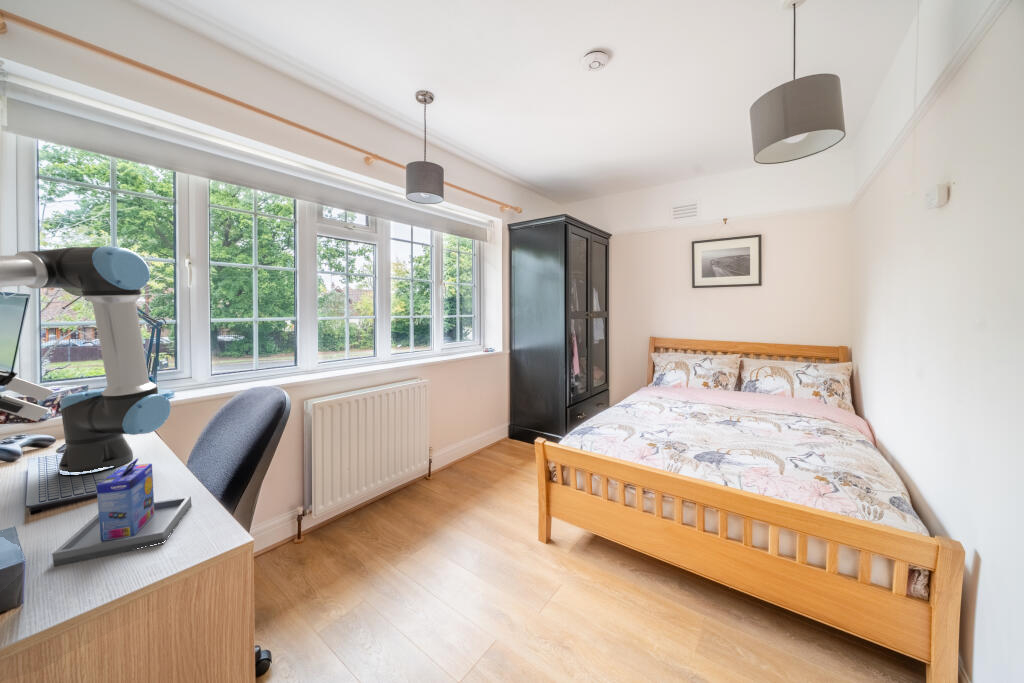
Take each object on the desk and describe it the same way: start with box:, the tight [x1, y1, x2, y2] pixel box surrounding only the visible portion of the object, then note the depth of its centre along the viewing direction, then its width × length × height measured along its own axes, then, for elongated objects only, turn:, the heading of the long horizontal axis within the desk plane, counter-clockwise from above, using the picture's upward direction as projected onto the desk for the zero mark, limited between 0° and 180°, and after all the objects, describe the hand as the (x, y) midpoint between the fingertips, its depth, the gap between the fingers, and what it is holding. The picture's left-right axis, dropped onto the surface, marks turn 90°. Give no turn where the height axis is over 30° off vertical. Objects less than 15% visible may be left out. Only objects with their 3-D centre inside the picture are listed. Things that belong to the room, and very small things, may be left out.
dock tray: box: [51, 495, 192, 567], centre depth 81 cm, size 16×16×2 cm
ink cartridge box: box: [96, 457, 155, 542], centre depth 80 cm, size 10×6×14 cm, turn 24°
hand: (46, 405), depth 82 cm, fingers open, 13 cm apart
